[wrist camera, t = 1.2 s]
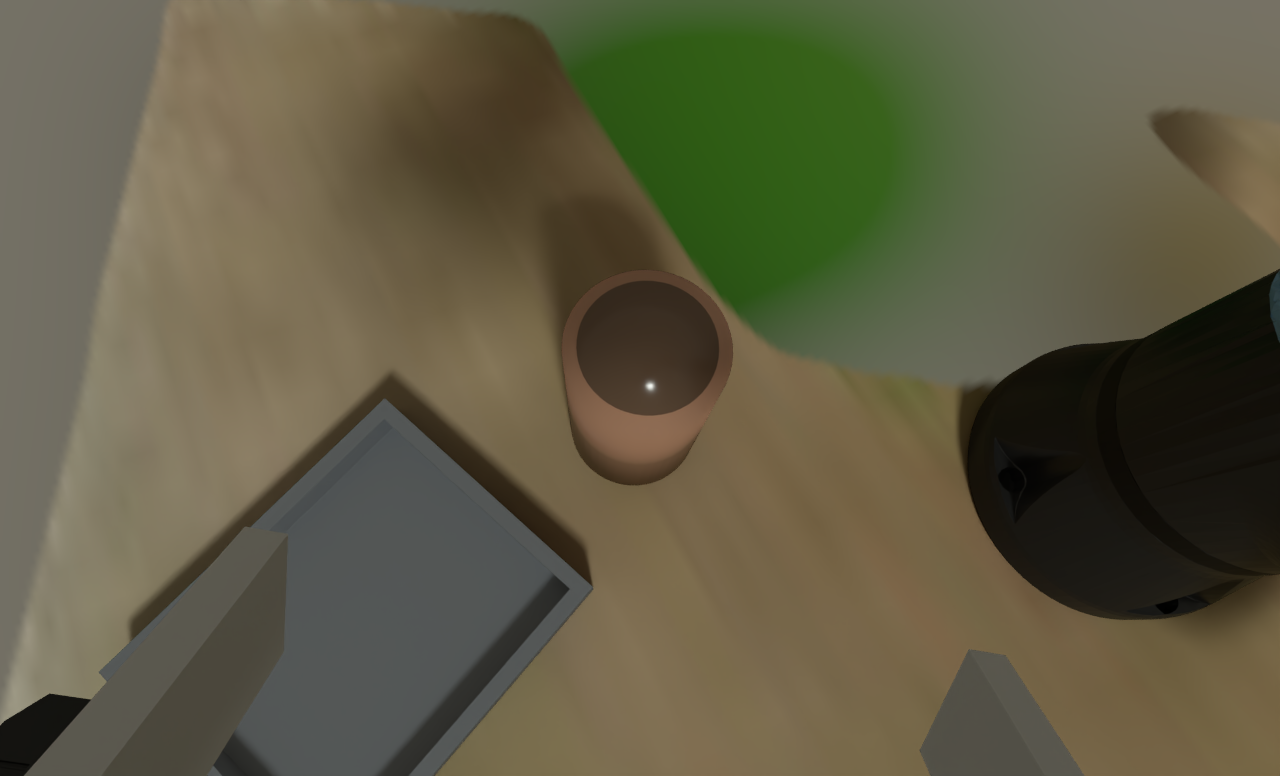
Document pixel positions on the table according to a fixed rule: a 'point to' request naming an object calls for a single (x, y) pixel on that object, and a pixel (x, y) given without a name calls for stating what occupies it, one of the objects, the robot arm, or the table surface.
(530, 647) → the grey square tray
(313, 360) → the table surface
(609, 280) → the terracotta cup
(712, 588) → the table surface
